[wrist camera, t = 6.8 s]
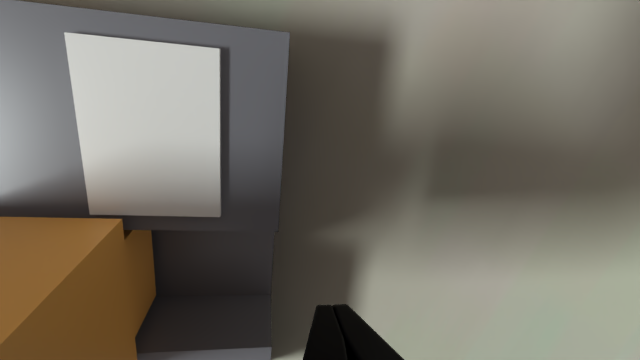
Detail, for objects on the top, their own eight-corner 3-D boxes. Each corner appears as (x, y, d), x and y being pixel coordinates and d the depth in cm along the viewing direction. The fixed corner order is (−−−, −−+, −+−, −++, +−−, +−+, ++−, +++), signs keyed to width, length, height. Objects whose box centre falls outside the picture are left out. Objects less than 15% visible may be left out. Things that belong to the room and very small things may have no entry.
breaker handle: (156, 183, 10) (-10, 354, 4) (165, 315, 12) (55, 579, 6) (26, 178, 9) (-391, 372, 3) (54, 319, 11) (-200, 618, 5)
